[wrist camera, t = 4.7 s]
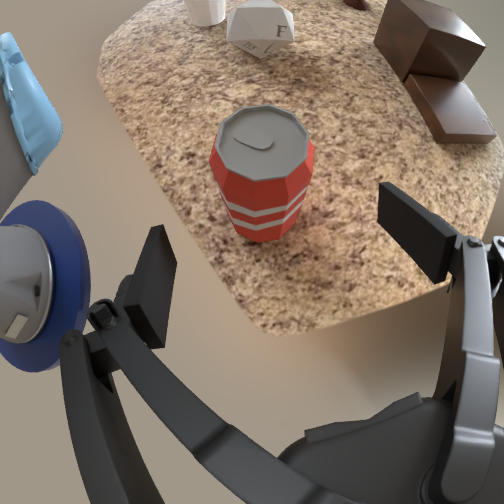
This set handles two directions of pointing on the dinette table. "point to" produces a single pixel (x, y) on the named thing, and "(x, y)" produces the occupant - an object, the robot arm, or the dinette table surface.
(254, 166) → the beverage can
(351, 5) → the ice cream bowl
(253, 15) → the die
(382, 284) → the dinette table surface
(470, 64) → the wooden l-shaped step
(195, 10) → the shot glass
